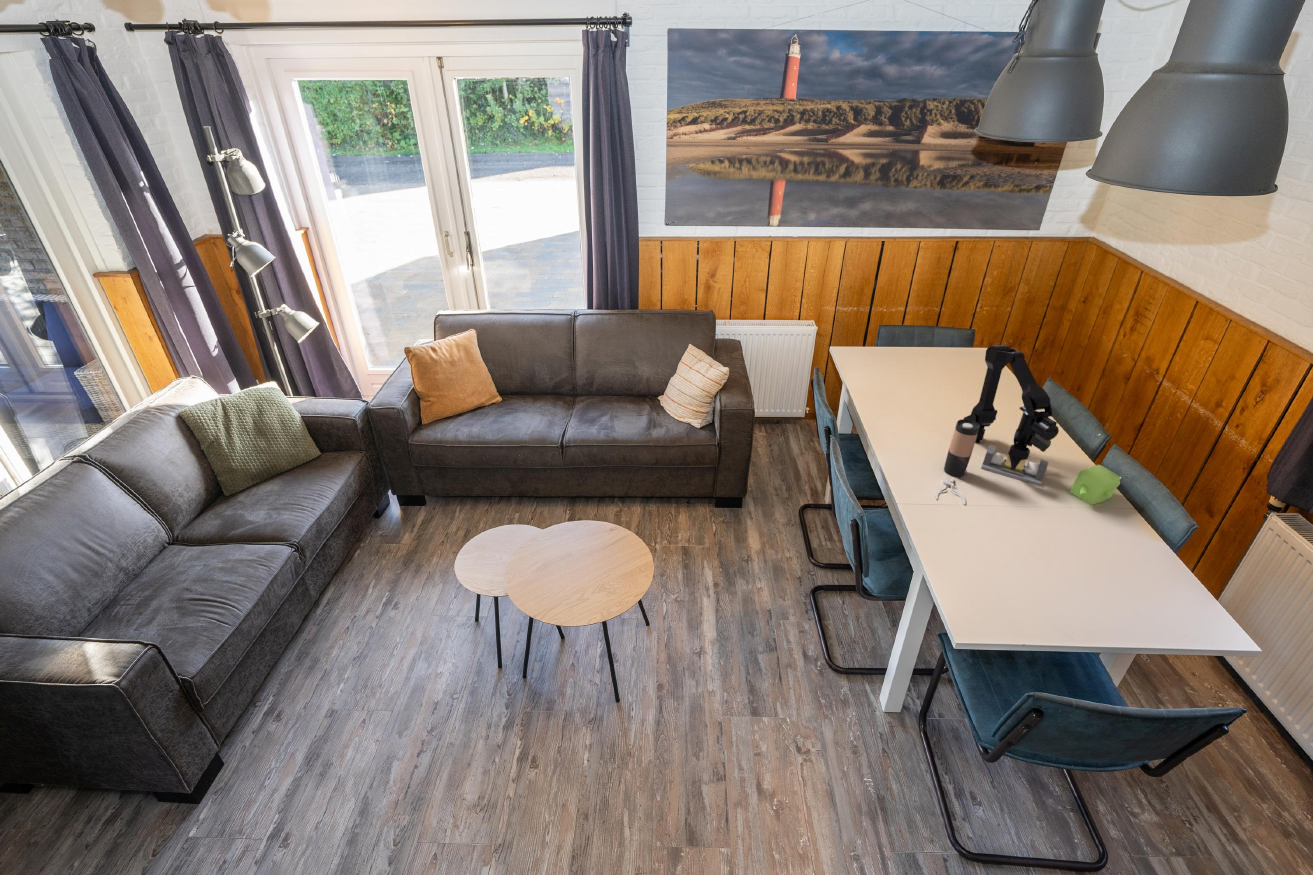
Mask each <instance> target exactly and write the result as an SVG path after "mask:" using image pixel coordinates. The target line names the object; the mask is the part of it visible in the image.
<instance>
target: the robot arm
mask: <svg viewBox="0 0 1313 875" xmlns="http://www.w3.org/2000/svg"><path fill="white" fill-rule="evenodd" d="M984 362H985V364H986V366H987V367H986V373H985V376H984V381H983V384H982V389H981V393H980V396H979V401H978V402H977V403H976V405H975V406H974V407H973V408H972V410H971V413H970V414H969V415H967V416H963V419H966V420H971V421H974V422H976V423H977V424H979V426H980V427H979V431H978V434H977V438H976V441H975V443H976V444H980V443H981V441H983V439H984V436H985V433H986V428H985V427H990V426H991V424H994V422H995V421H997V414H998V410H997V409H995V405H994V402H995V398H996V394H997V390H998V387H999V382H1000V379H1001V375H1002V371H1003V370H1004V369H1005V367H1006V366H1007V365H1008V364H1009V365H1010V368H1011V369H1012V371H1013V374H1014V376H1015V378H1016V380H1017V382H1018V384H1019V386H1020V388H1021V391H1022V393H1021V400H1022V403H1023V406H1020V407H1019V410H1020V411H1022V412H1023V413H1022V415H1021V419H1020V421H1019V424H1018V426H1017V428H1016V430H1015V433H1014V436H1013V444H1012V445H1011V444H1010V448H1009V450H1008V453H1007V454H1009V457H1010V462H1011V468H1012V469H1015V468H1016V467H1017V465H1018V464H1019V462H1020V461H1021V460H1023V459H1024V460H1025V459H1026V460H1028V458H1029V456H1030V452H1031V450H1030V448H1029V447H1032V446H1034V447H1035V448H1037V449H1038V450H1039V451H1041V452H1043V453H1044V452H1046V450H1047V449H1049V448H1050V447H1051V444H1052V440H1053V439H1055V438H1056V437H1057V435H1058V434H1059V432H1060V430H1059V427H1058V426H1057V424H1058V423H1057V421H1055V420H1053V419H1051V418H1049V417H1053V409H1052V405H1051V398H1050V396H1049V394H1048V393H1047V392H1046V390H1045V389H1044V388H1043V387H1041V386H1040V385H1039V384H1038V383H1037V381H1036V380H1035V377H1034V375H1033V373H1032V371H1031V369H1030V367H1029V365H1028V363H1027V361H1026V356H1025V353H1024V352H1022V351H1018V349H1016V348H1011V347H1010V346H1009V345H1007V344H1000V345H999V344H998V345H991V346H989V347H987V348H986V350H985V358H984ZM1042 410H1043V411H1042Z"/></svg>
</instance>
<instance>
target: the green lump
mask: <svg viewBox="0 0 1313 875" xmlns="http://www.w3.org/2000/svg"><path fill="white" fill-rule="evenodd" d="M1121 479H1122V477H1121V476H1119V475H1118V474H1116V473H1114V472H1113V471H1111V470H1110V469H1108V468H1106V467H1104V466H1103V465H1100V464H1096V465H1093V466H1090V467H1088V468H1085V469H1082V470H1080V471H1079V472H1078V474H1077V476H1076V478H1075V481H1073V485H1072V486H1071V489H1070V492H1069V493H1071V494H1072V495H1074V496H1075V497H1076V498H1079V499H1080V500H1082V501H1084V502H1086V503H1088V504H1089V505H1091V506H1093V505H1096V504H1099V503H1101V502H1104V501H1107V500H1109V499H1111V498H1112V496H1113V495H1114V492H1115V490H1116V489H1117V488H1118V487H1119V486H1120V484H1121ZM1106 499H1107V500H1106Z"/></svg>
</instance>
